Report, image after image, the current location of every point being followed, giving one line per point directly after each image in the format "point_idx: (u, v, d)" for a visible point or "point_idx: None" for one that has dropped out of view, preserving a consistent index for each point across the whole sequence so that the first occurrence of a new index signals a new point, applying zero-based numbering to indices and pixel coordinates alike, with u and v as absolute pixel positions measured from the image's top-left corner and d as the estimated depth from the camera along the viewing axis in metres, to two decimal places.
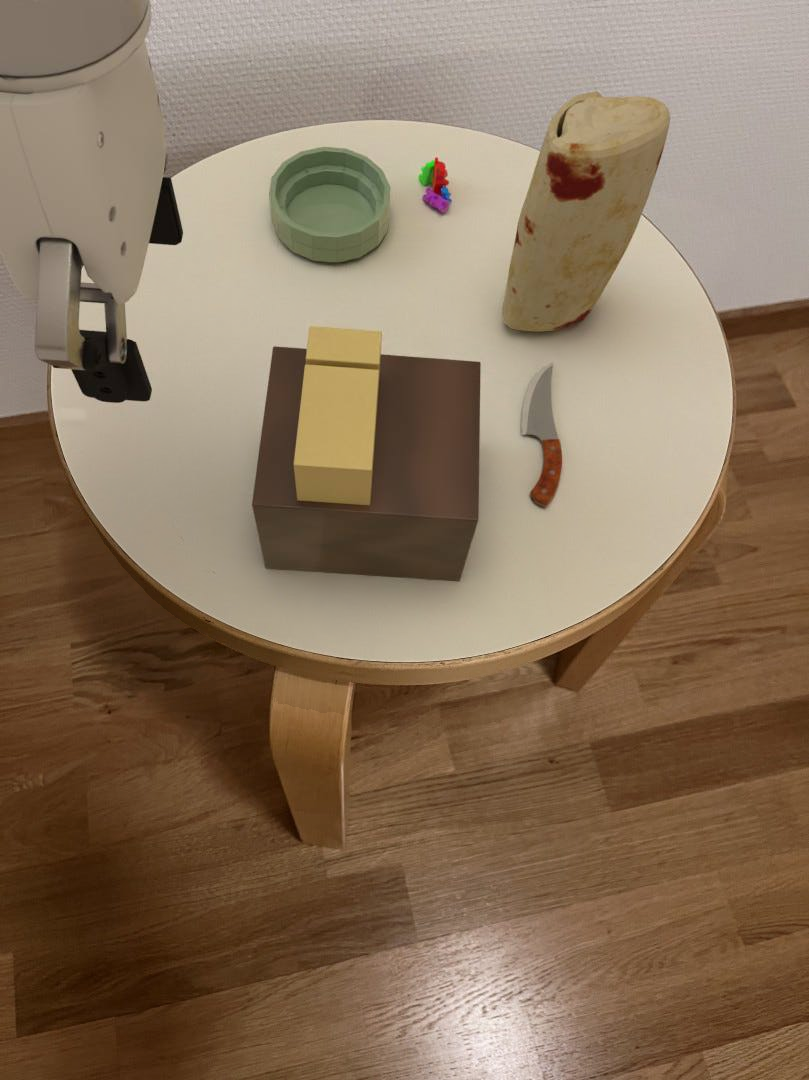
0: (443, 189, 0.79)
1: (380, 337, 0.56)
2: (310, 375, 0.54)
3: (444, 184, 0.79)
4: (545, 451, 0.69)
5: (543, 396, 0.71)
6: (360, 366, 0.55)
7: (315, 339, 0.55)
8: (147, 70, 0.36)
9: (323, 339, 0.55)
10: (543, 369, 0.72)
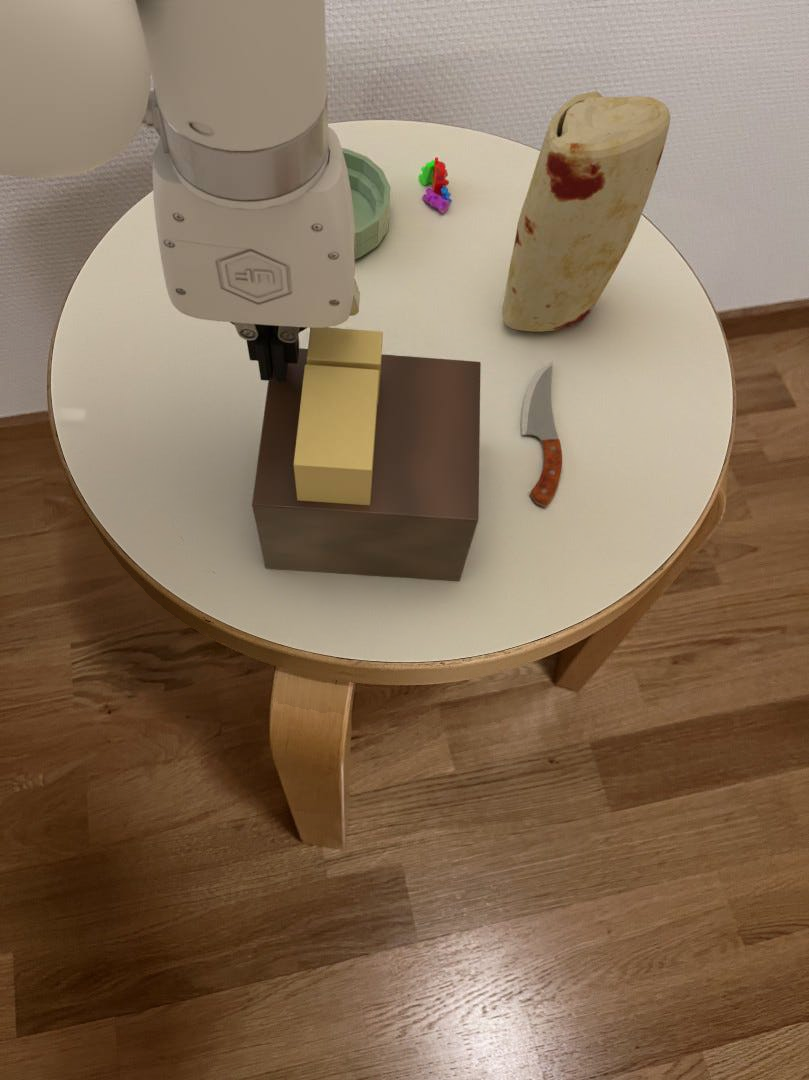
0: (443, 189, 0.79)
1: (381, 337, 0.56)
2: (310, 375, 0.54)
3: (444, 184, 0.79)
4: (545, 451, 0.69)
5: (543, 396, 0.71)
6: (361, 366, 0.55)
7: (316, 339, 0.55)
8: None
9: (324, 339, 0.55)
10: (543, 369, 0.72)
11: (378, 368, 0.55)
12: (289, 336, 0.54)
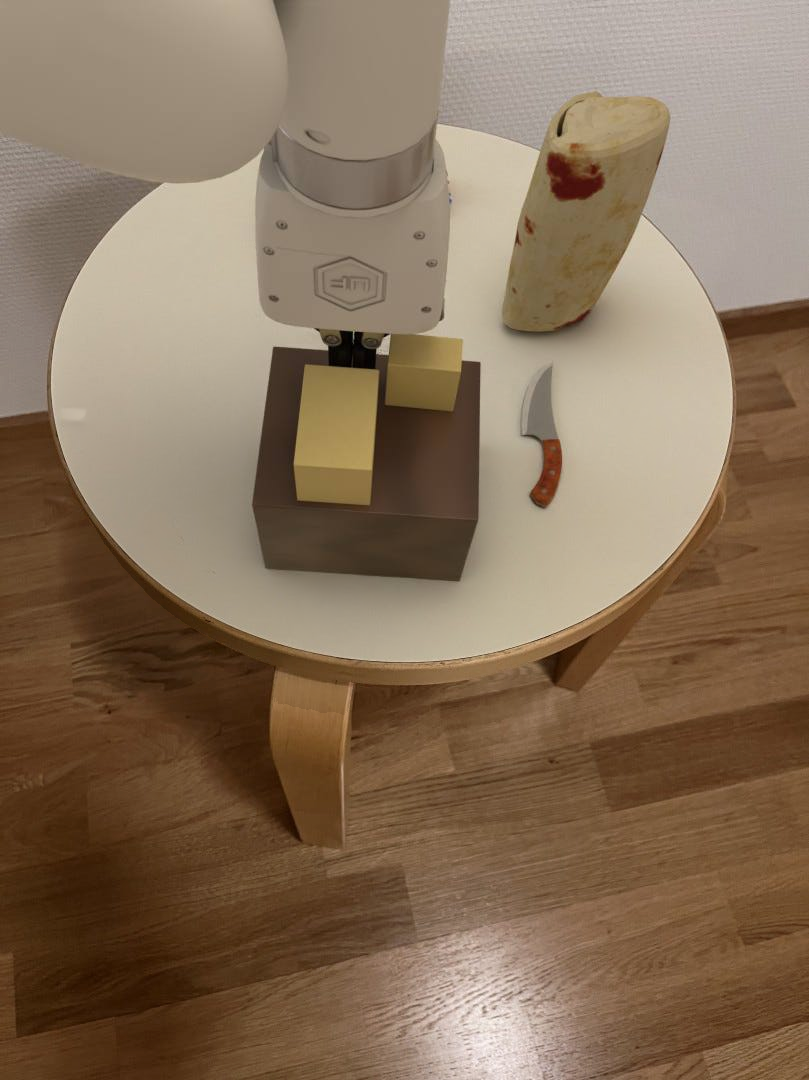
0: None
1: (461, 345, 0.56)
2: (310, 375, 0.54)
3: None
4: (545, 451, 0.69)
5: (543, 396, 0.71)
6: (441, 373, 0.55)
7: (396, 345, 0.55)
8: None
9: (405, 345, 0.55)
10: (543, 369, 0.72)
11: (458, 375, 0.55)
12: (372, 342, 0.54)
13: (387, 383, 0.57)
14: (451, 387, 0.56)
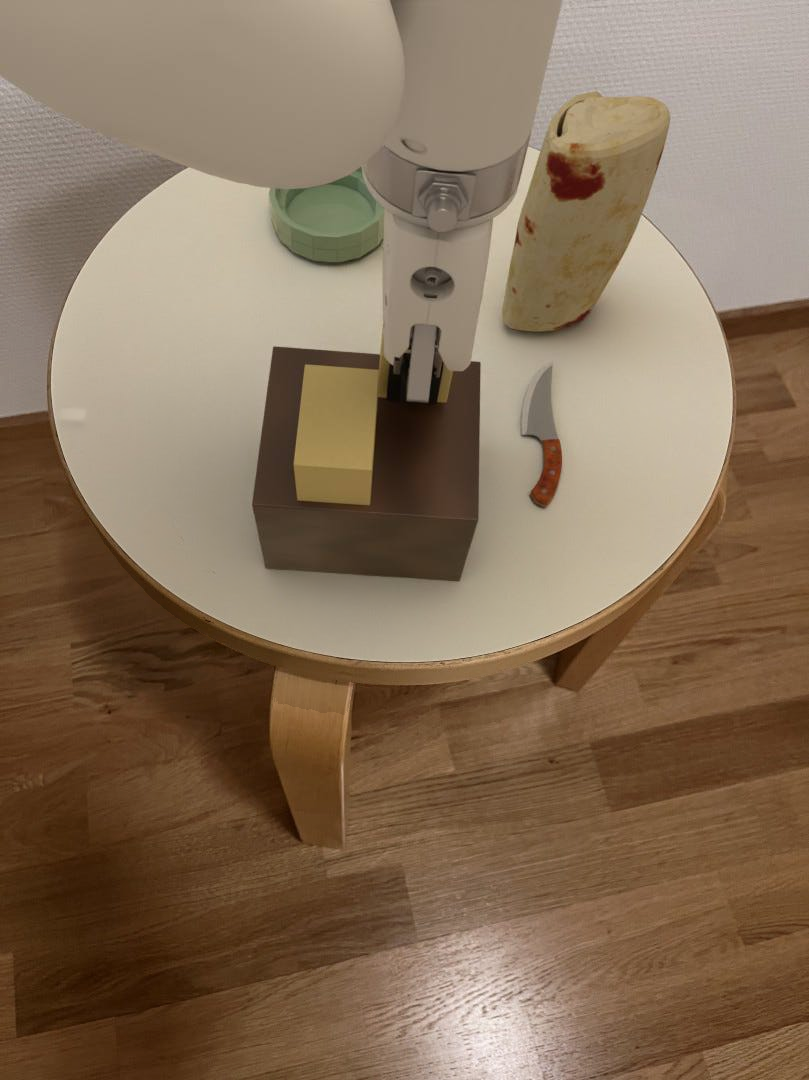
0: None
1: None
2: (310, 375, 0.54)
3: None
4: (545, 451, 0.69)
5: (543, 396, 0.71)
6: None
7: None
8: (384, 277, 0.45)
9: None
10: (543, 369, 0.72)
11: None
12: None
13: (380, 374, 0.56)
14: (445, 377, 0.56)
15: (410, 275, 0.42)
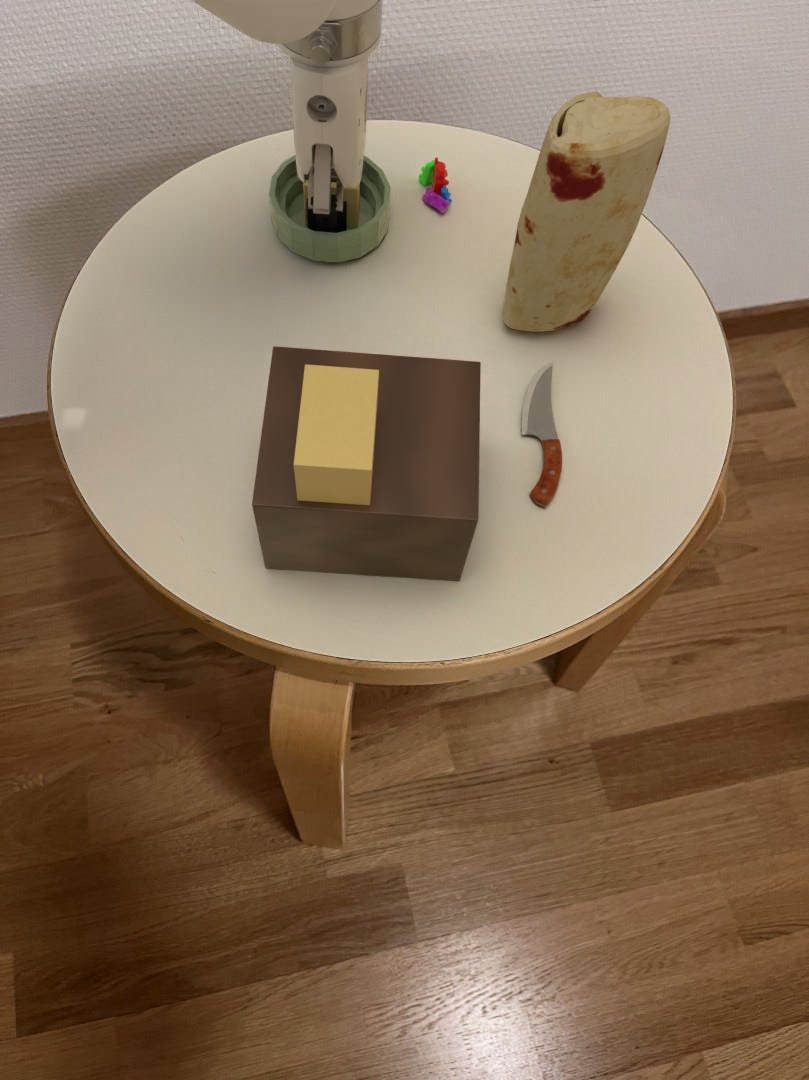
0: (443, 189, 0.79)
1: None
2: (310, 375, 0.54)
3: (444, 184, 0.79)
4: (545, 451, 0.69)
5: (543, 396, 0.71)
6: None
7: None
8: (292, 111, 0.65)
9: None
10: (543, 369, 0.72)
11: (356, 193, 0.74)
12: None
13: (305, 203, 0.75)
14: (353, 205, 0.75)
15: (306, 103, 0.62)
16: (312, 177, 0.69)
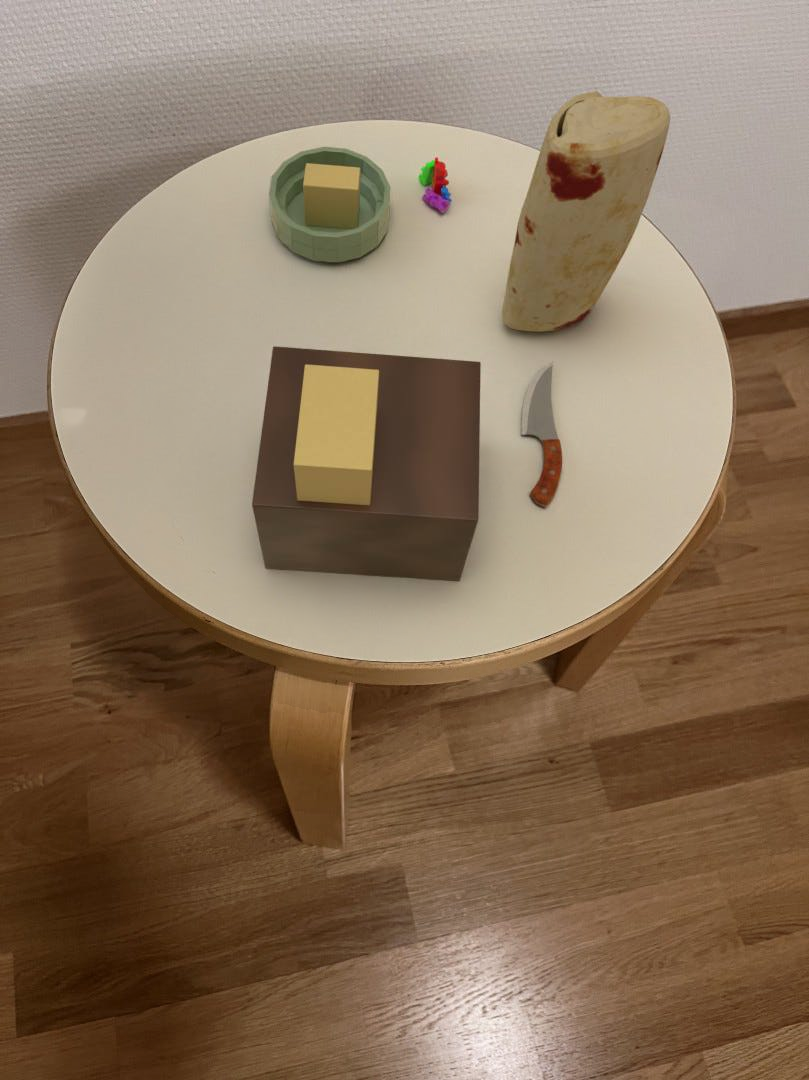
0: (443, 189, 0.79)
1: (359, 171, 0.74)
2: (310, 375, 0.54)
3: (444, 184, 0.79)
4: (545, 451, 0.69)
5: (543, 396, 0.71)
6: (343, 191, 0.74)
7: (310, 172, 0.74)
8: None
9: (316, 172, 0.74)
10: (543, 369, 0.72)
11: (356, 193, 0.74)
12: None
13: (305, 203, 0.75)
14: (353, 205, 0.75)
15: None
16: None
